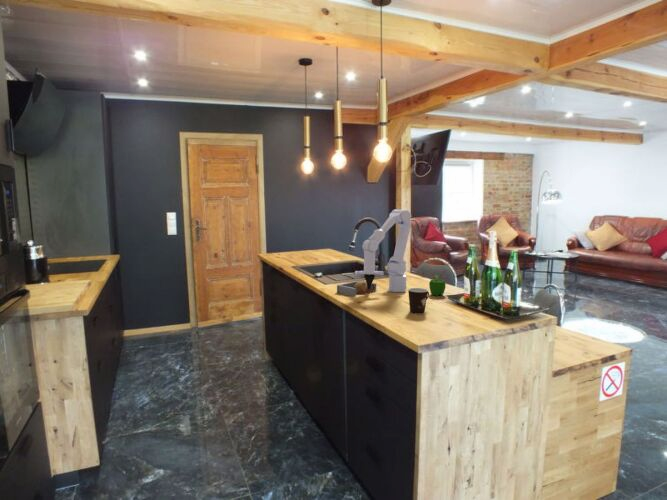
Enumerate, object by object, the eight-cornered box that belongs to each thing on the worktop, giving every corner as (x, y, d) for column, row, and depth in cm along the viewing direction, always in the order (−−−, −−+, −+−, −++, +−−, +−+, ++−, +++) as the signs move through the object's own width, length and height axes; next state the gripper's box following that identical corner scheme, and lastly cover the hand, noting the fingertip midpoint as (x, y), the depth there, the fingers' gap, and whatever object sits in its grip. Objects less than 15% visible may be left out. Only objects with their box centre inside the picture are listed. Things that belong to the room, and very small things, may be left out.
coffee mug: (412, 315, 186) (413, 292, 185) (404, 309, 194) (405, 288, 193) (436, 313, 189) (437, 291, 188) (427, 308, 198) (428, 287, 196)
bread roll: (352, 297, 233) (347, 284, 230) (366, 287, 237) (361, 275, 234) (363, 301, 224) (357, 288, 222) (377, 291, 228) (372, 278, 226)
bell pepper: (445, 297, 219) (446, 278, 218) (429, 296, 221) (429, 277, 220) (444, 293, 227) (445, 275, 226) (428, 292, 229) (429, 274, 228)
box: (376, 290, 232) (376, 283, 232) (354, 296, 219) (354, 288, 218) (358, 287, 240) (358, 280, 240) (337, 292, 227) (337, 285, 226)
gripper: (382, 262, 226) (381, 287, 228) (355, 261, 226) (354, 286, 228) (384, 264, 219) (383, 290, 221) (356, 264, 219) (355, 289, 221)
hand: (368, 288), depth 224 cm, fingers closed
